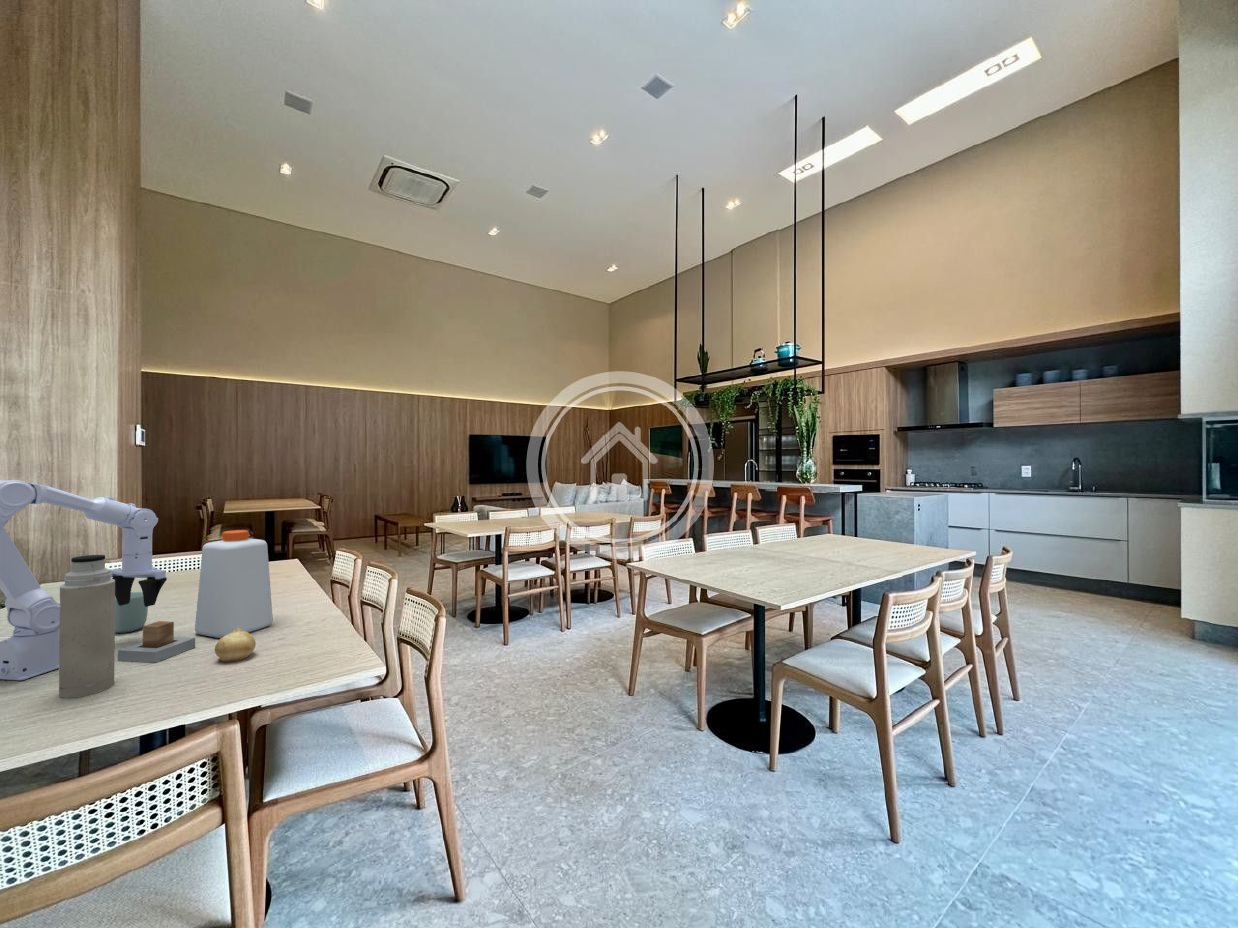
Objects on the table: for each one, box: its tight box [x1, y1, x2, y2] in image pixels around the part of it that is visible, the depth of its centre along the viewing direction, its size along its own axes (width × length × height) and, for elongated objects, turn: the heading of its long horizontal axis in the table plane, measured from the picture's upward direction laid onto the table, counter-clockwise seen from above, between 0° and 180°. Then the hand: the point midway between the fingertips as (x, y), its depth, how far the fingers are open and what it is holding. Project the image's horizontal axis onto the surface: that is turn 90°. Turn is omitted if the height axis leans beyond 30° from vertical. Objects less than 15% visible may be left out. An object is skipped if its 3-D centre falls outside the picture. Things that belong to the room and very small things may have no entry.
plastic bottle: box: [194, 529, 274, 639], centre depth 143 cm, size 15×15×28 cm
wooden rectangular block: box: [142, 620, 175, 648], centre depth 125 cm, size 4×4×7 cm
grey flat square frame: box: [117, 636, 196, 664], centre depth 125 cm, size 10×10×2 cm
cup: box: [115, 591, 149, 634], centre depth 141 cm, size 8×8×10 cm
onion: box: [214, 628, 257, 663], centre depth 122 cm, size 8×8×7 cm
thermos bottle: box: [58, 554, 116, 699], centre depth 105 cm, size 8×8×28 cm
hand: (136, 605), depth 132 cm, fingers open, 7 cm apart
